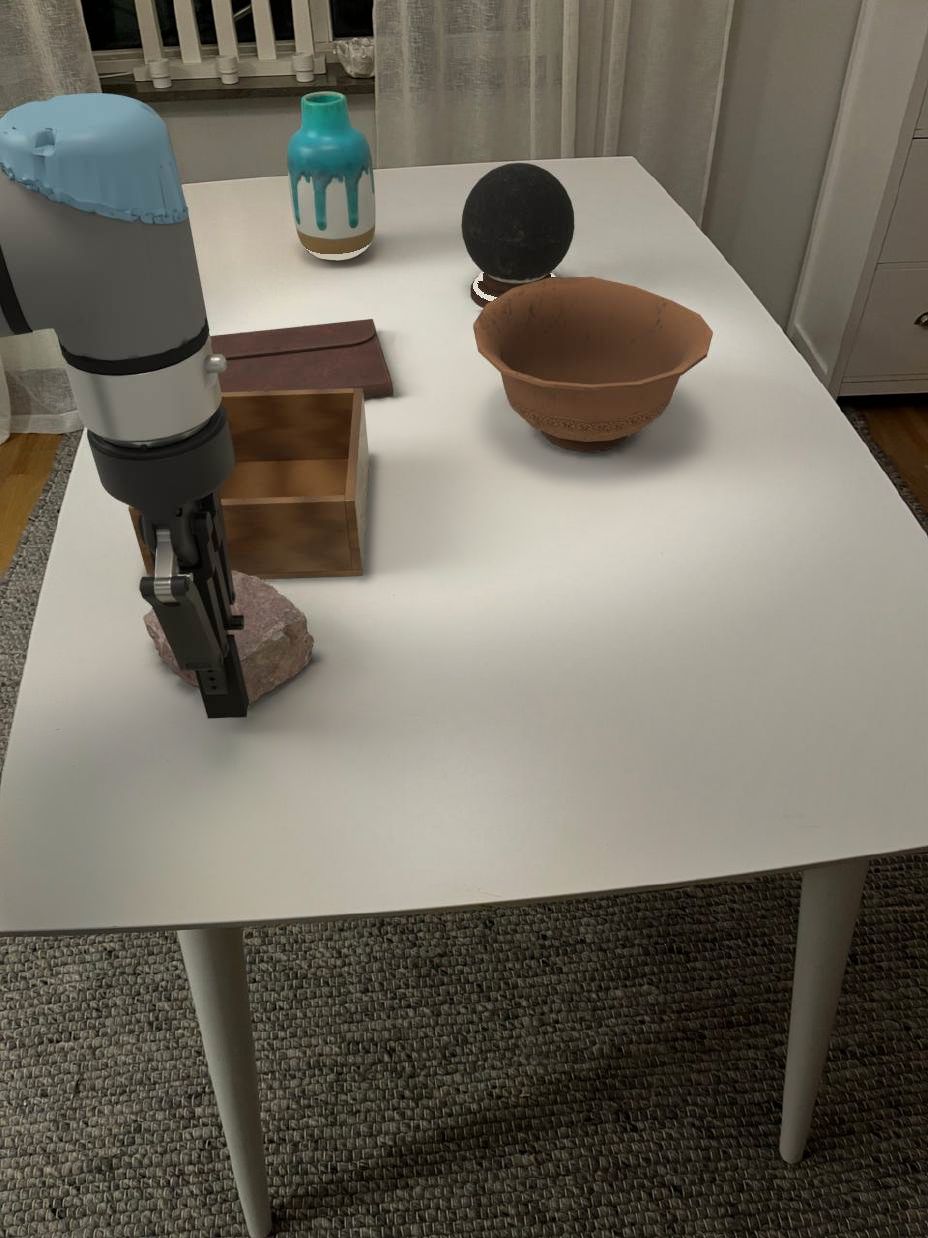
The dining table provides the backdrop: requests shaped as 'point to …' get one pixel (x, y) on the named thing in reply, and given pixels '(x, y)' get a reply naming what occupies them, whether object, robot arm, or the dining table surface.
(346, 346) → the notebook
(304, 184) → the vase
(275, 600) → the stone
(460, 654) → the dining table surface
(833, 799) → the dining table surface
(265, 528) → the box
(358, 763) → the dining table surface
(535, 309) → the bowl
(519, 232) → the black ball on stand
